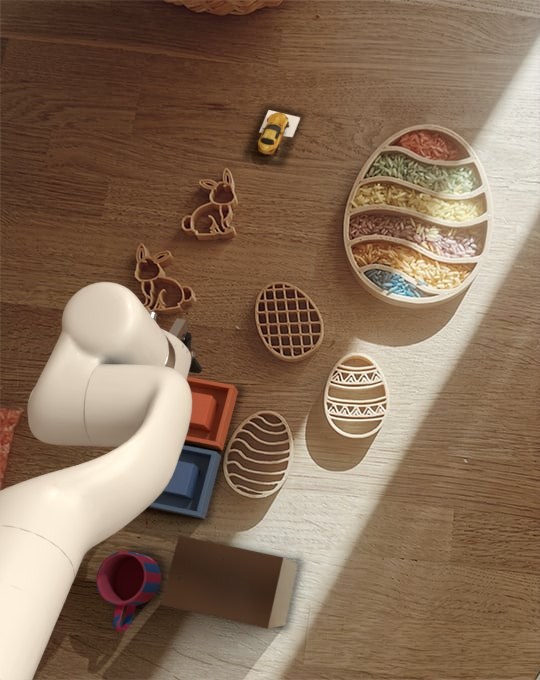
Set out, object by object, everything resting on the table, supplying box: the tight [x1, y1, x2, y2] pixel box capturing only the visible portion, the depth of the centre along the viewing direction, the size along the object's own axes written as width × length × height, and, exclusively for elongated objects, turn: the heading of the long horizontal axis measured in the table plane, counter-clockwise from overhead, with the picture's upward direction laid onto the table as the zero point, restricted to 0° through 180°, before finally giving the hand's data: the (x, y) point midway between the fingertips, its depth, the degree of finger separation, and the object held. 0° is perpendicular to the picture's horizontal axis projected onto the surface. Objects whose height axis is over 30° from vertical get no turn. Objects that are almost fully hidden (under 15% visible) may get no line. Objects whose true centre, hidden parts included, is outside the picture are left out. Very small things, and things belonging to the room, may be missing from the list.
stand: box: [160, 535, 299, 630], centre depth 93 cm, size 8×13×16 cm, turn 78°
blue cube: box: [162, 461, 201, 500], centre depth 104 cm, size 4×4×4 cm
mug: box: [95, 550, 162, 633], centre depth 98 cm, size 7×10×7 cm
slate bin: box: [147, 444, 222, 520], centre depth 104 cm, size 9×9×4 cm
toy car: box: [256, 109, 301, 156], centre depth 124 cm, size 4×8×2 cm, turn 162°
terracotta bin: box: [184, 376, 239, 452], centre depth 108 cm, size 9×9×4 cm
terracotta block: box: [189, 392, 218, 432], centre depth 107 cm, size 4×4×4 cm
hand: (180, 404), depth 93 cm, fingers open, 9 cm apart
